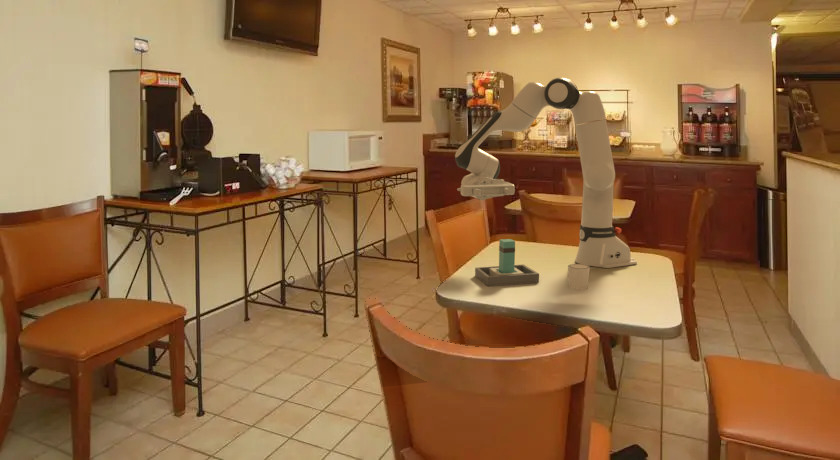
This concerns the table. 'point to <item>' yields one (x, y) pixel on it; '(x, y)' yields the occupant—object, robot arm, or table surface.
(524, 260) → the table surface
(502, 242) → the plug
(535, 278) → the grey tray
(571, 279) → the beige cylinder
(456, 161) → the robot arm
